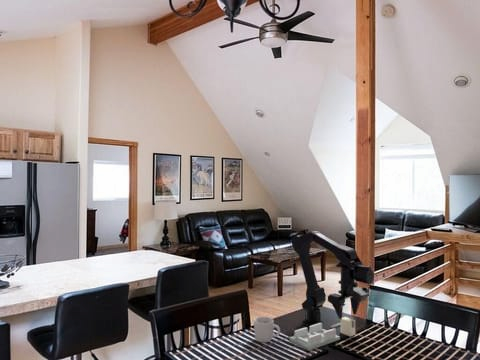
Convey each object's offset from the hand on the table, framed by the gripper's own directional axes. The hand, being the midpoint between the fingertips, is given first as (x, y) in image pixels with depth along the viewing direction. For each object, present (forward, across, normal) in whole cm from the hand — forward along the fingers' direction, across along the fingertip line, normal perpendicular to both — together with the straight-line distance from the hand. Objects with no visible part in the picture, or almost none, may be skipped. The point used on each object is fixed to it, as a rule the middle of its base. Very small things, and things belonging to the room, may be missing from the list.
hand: (347, 316), depth 159 cm
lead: (+7, +3, +8) cm, 11 cm away
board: (+7, -16, +3) cm, 18 cm away
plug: (+7, 0, 0) cm, 7 cm away
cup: (+7, -32, +14) cm, 36 cm away
